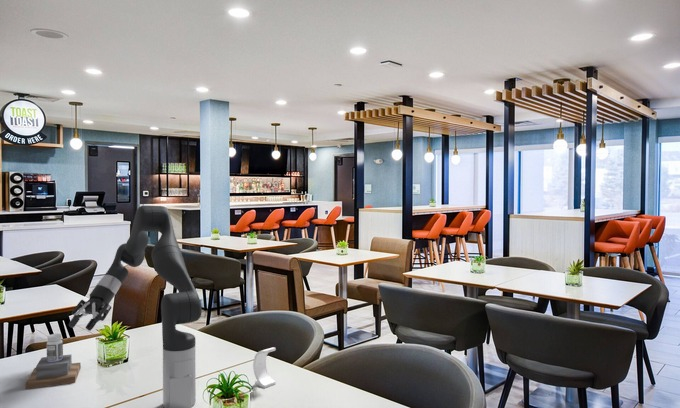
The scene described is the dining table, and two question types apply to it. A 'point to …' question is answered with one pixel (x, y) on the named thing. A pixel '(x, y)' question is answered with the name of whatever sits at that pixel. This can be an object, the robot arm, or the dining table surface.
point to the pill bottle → (54, 348)
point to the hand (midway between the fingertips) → (79, 328)
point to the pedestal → (53, 373)
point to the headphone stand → (262, 369)
